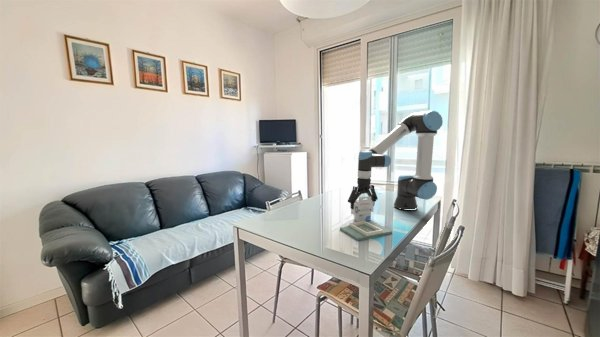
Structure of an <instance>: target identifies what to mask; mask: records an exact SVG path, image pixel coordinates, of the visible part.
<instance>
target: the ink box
mask: <svg viewBox="0 0 600 337" xmlns="http://www.w3.org/2000/svg"><path fill="white" fill-rule="evenodd" d="M371 201H372V200H371V196H370V197H369V196H359V197H358V199H357V200H356V202H355V215H353V216H354V220H355V221H356V222H361V221H366V222H369V221H371V217H372V212H371Z"/></svg>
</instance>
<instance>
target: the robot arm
mask: <svg viewBox="0 0 600 337" xmlns="http://www.w3.org/2000/svg"><path fill="white" fill-rule="evenodd" d="M443 123H444V122H443V116H442V115H441V114H440V113H439V111H436V110H425V111H416V112H413V113H410V114H409V115H408V116H406V117H404V118H403V119H402V120H400V121H399V123H397V126H396V127H395V128H394V129H393V130H391V131H390V132H389V133H388V134H386V135H385V136H383V138H382V139H380V141H378V142H377V143H376V144H375V145H374V146H372V148H370V149H369V150H361V151H359V152H358V157H357V159H358V162H357V163H358V164H357V165H358V166H357V182H356V183H357V186H355V185H354V186H352V190H351V193H350V195H349V198H348V199H347V202H348V203H349V204H350V213H351V215H352V216H354V215H355V202H356V200H359V197H361V195H362V194H367V197H370V196H371V213H373V212H374V207H375V203H376V202H377V201H378V198H379V197H378V195H377V192H376V190H375V185H374V184H371V181H372V179H371V178H372V169H373V168H388V167H389V166H391V163H392V158H391V156H390V155H389V154H385V153H386V152H387V151H389V150H390V148H392V147H393V146H395V144H397V143H398V142H399V141H400V140H401V139H403V137H405V136H408V135H410V134H411V133H413V132H415V134H416V135H417V137H418V138H417V149H416V150H417V152H416V165H415V174H406V175H405V174H401V175H399V176H398V178H397V192H396V194H397V195H396V197H395V201H394V203H393V207H394V206H395V207H397V208H401V209H415V208H417V207H418V203H417V199H416V198H418V199H421V200H425V201H427V200H431V199H432V198H433V197H435V195H436V194H437V190H438V187H437V184H436V183H435V182H434V177H433V176H432V167H433V165H432V162H433V153H434V152H433V151H434V142H435V140H434V139H435V138H434V137H435V136H436V135H438V130H440V129H441V127H442V126H443ZM395 207H394V208H395ZM418 208H419V207H418ZM418 208H417V209H418Z"/></svg>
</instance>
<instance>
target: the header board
mask: <svg viewBox="0 0 600 337" xmlns="http://www.w3.org/2000/svg"><path fill="white" fill-rule="evenodd" d="M348 224H349V225H346V226H342V227H339V230H340V231H341V232H342V233H344V234H345V235H347V236H349V237H351V238H352V239H354V240H356V241H357V242H359V241H363V240H368V239H373V238H377V237H381V236H387V235H390V234H391V235H392V233H393V230H391V229H388V228H386V227H384V226H382V225H380V224H378V223H376V222H374V221H370V222H369V221H360V222H358V221H356V222H355V221H354V222H350V223H348Z"/></svg>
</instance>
